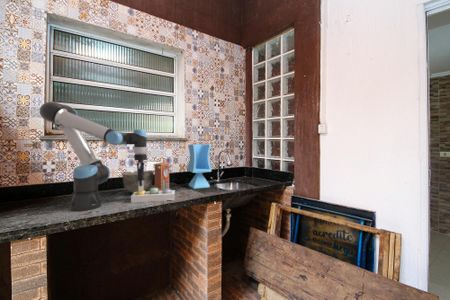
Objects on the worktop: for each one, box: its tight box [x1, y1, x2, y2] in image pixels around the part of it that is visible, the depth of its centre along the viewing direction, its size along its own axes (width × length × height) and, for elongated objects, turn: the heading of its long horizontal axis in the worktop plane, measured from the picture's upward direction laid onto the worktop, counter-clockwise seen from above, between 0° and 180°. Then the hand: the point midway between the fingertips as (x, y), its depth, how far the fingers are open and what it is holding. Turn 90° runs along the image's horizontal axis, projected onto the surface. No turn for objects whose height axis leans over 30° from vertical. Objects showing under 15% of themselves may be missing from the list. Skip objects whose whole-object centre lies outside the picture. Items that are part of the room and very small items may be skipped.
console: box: [130, 189, 176, 204], centre depth 145 cm, size 26×12×4 cm, turn 103°
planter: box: [186, 144, 212, 190], centre depth 186 cm, size 16×16×35 cm
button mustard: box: [137, 190, 146, 195], centre depth 143 cm, size 5×5×3 cm
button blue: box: [163, 188, 172, 194], centre depth 147 cm, size 5×5×3 cm
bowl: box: [121, 170, 155, 194], centre depth 164 cm, size 22×22×15 cm
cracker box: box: [154, 162, 170, 191], centre depth 166 cm, size 21×7×15 cm
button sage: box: [149, 187, 158, 194], centre depth 145 cm, size 5×5×3 cm
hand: (141, 190), depth 143 cm, fingers closed
